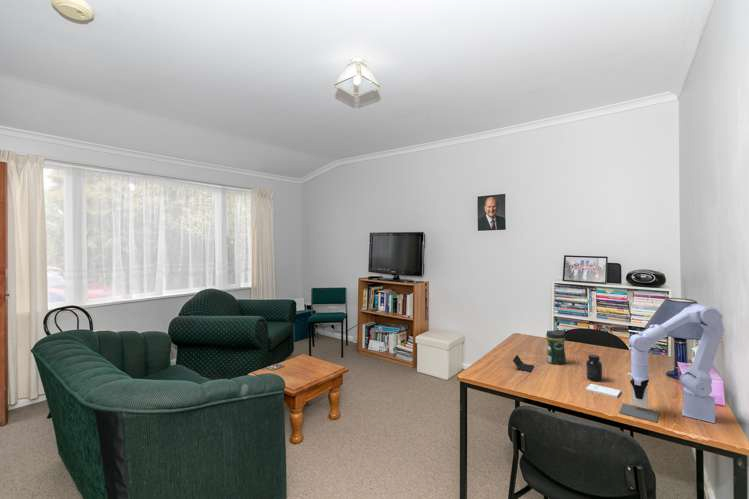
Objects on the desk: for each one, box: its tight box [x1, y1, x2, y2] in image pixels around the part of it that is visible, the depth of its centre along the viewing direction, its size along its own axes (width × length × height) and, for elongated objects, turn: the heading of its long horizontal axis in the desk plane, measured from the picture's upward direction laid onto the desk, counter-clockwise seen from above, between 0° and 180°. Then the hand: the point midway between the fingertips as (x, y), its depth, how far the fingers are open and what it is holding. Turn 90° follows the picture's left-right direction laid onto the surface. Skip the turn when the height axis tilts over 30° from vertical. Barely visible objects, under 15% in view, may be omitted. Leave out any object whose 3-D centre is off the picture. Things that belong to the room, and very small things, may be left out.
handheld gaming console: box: [512, 354, 535, 373], centre depth 197 cm, size 12×7×10 cm
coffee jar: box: [545, 330, 567, 365], centre depth 205 cm, size 10×8×19 cm
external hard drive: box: [585, 383, 622, 399], centre depth 165 cm, size 2×8×12 cm
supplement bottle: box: [585, 354, 603, 383], centre depth 180 cm, size 7×7×12 cm
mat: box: [618, 402, 660, 423], centre depth 144 cm, size 12×11×1 cm
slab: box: [631, 385, 649, 409], centre depth 146 cm, size 5×3×7 cm, turn 48°
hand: (639, 397), depth 146 cm, fingers closed on slab, 3 cm apart
